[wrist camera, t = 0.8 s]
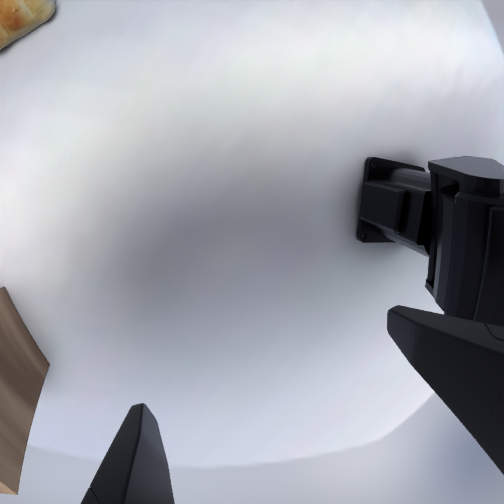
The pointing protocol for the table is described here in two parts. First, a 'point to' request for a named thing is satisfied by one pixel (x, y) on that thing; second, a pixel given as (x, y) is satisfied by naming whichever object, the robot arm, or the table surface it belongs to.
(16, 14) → the pastry
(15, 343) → the block
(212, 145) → the table surface
